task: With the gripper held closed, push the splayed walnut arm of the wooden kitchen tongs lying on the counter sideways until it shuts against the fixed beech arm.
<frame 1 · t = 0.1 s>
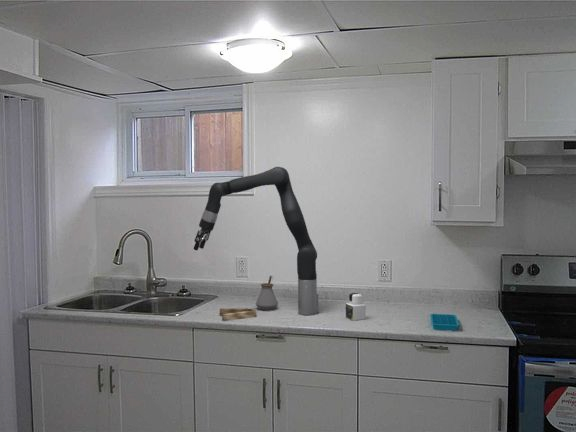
hand: (198, 249, 269), 31 cm above the worktop, tool tilted 20°, fingers open, 8 cm apart
medicine bottle: (355, 319, 249), on the worktop
coffee pot: (268, 307, 275), on the worktop
tong base: (254, 315, 256), on the worktop
tong arm: (237, 311, 257), point 2 cm above the worktop, hinge at 30.0°
ice cube tray: (444, 326, 236), on the worktop
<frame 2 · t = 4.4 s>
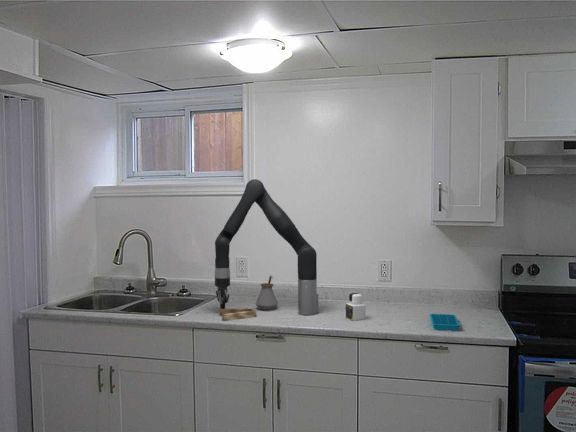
hand: (222, 311, 260), 1 cm above the worktop, tool pointing down, fingers closed
tong arm: (237, 311, 257), point 2 cm above the worktop, hinge at 29.4°, touching gripper
everything else where it was.
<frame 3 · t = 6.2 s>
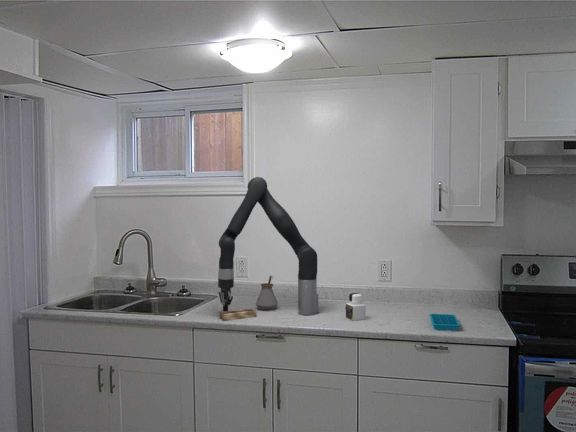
hand: (225, 313, 254), 2 cm above the worktop, tool pointing down, fingers closed
tong arm: (236, 313, 254), point 2 cm above the worktop, hinge at 5.5°, touching gripper
everything else where it was.
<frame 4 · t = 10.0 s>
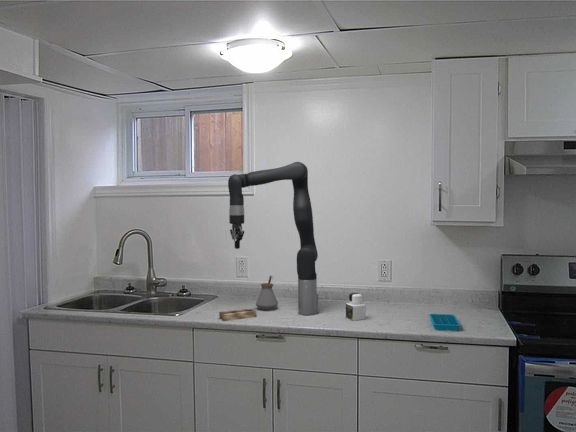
hand: (237, 248, 264), 32 cm above the worktop, tool pointing down, fingers closed
tong arm: (236, 313, 254), point 2 cm above the worktop, hinge at 5.2°
everything else where it was.
at the end: tong arm at +5° (first picture: +30°); tong arm touching nothing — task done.
